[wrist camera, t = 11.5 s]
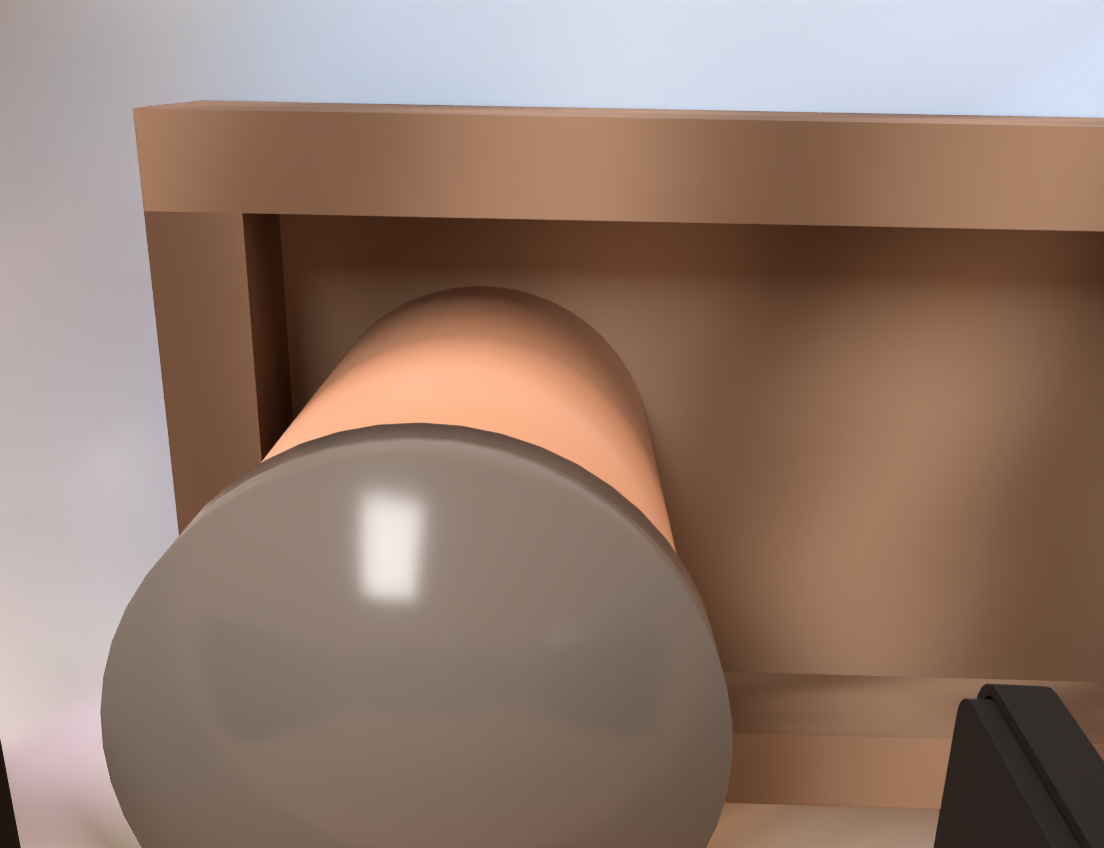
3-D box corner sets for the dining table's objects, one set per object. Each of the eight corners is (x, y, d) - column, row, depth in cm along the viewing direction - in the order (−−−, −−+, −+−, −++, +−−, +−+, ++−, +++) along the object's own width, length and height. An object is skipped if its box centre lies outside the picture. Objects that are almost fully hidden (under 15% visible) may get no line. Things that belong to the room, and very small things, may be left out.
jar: (667, 276, 18) (754, 462, 10) (652, 607, 20) (714, 1001, 12) (296, 272, 18) (57, 452, 10) (319, 602, 20) (140, 990, 12)
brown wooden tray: (1365, 122, 18) (1513, 134, 15) (1209, 722, 22) (1303, 820, 19) (201, 100, 18) (132, 108, 15) (253, 693, 22) (206, 785, 19)
